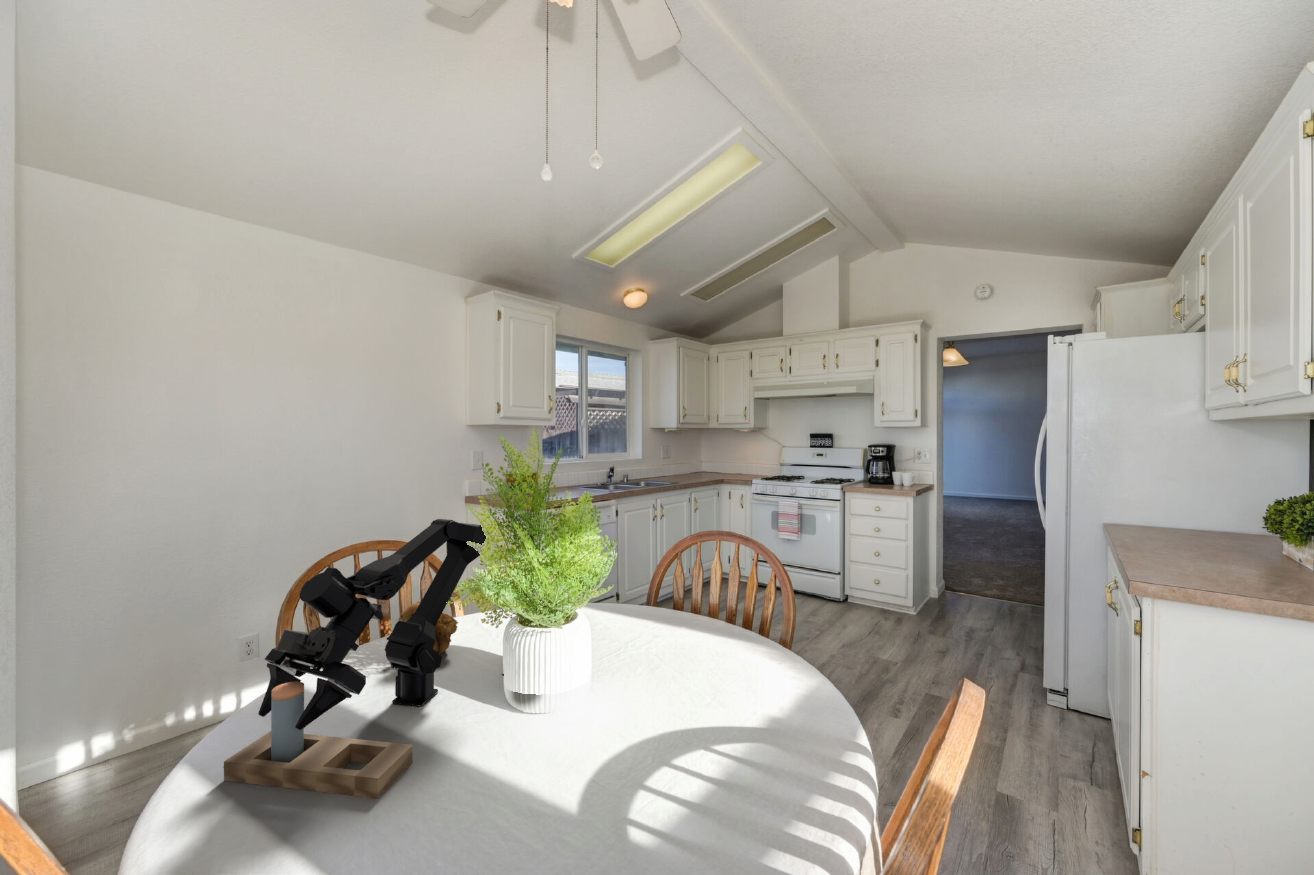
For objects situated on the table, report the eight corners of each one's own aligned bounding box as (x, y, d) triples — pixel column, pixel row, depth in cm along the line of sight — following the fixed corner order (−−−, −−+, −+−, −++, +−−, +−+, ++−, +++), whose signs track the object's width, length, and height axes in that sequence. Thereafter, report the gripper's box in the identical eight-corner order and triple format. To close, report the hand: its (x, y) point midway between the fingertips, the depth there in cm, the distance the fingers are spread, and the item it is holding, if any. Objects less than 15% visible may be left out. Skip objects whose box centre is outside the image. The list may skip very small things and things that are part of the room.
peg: (306, 757, 93) (307, 680, 93) (300, 772, 89) (300, 691, 89) (275, 762, 91) (275, 683, 91) (267, 778, 87) (267, 696, 87)
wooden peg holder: (412, 763, 92) (412, 744, 92) (377, 798, 83) (377, 778, 83) (271, 747, 96) (271, 730, 96) (223, 780, 87) (223, 761, 87)
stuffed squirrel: (388, 655, 135) (389, 601, 135) (448, 643, 143) (449, 592, 143) (397, 670, 127) (398, 612, 127) (460, 656, 135) (461, 602, 135)
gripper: (276, 600, 97) (203, 689, 87) (350, 616, 90) (279, 716, 80) (319, 630, 105) (256, 716, 95) (391, 647, 97) (331, 743, 87)
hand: (278, 722), depth 89 cm, fingers open, 9 cm apart
